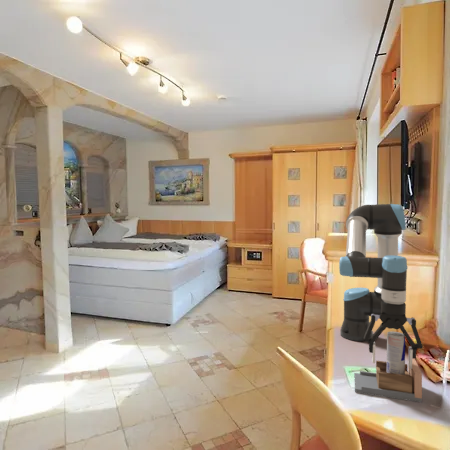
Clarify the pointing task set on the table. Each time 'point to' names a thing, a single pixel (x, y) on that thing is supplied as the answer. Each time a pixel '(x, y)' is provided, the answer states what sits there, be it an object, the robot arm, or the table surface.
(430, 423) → the table surface
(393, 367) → the beverage can
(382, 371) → the open wooden box
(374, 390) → the board
